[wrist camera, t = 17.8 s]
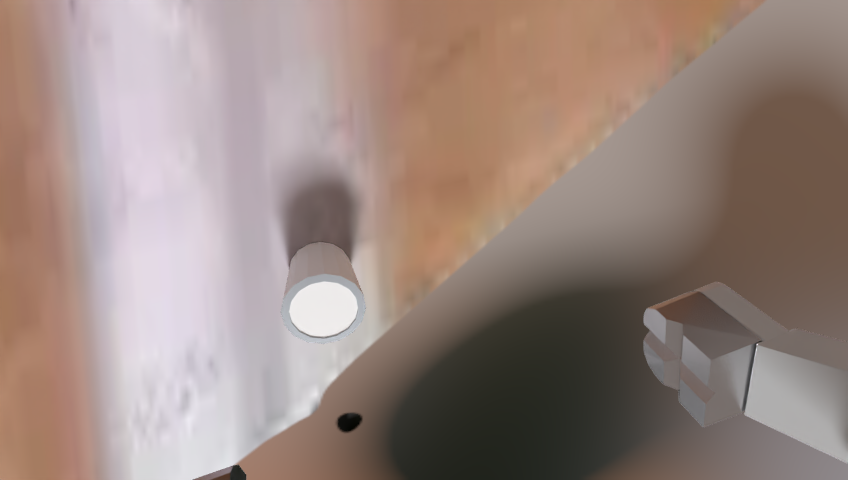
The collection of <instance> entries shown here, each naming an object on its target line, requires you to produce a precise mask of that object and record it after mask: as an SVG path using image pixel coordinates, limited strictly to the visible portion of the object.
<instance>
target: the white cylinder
mask: <svg viewBox="0 0 848 480" xmlns="http://www.w3.org/2000/svg"><path fill="white" fill-rule="evenodd" d="M365 309H366V306H365V301H364V296H363V293H362V290H361V288H360V285H359V283H358V280H357V278H356V275H355V273H354V270H353V268H352V265H351V263H350V260H349V258H348V256H347V255H346V254H345V252H344V251H343V250H342V249H341V248H339V247H337V246H335V245H334V244H331V243H325V242H317V243H312V244H308V245H306V246H304V247H303V248H301V249H299V250H298V251H297V252H296V254H295V255H294V256H293V258H292V259H291V263H290V268H289V273H288V278H287V283H286V288H285V293H284V298H283V303H282V308H281V315H282V318H283V322H284V325H285V326H286V327H287V329H288V330H289V331H290V332H291V333H292V334H293V335H294V336H295V337H298V338H300V339H302V340H304V341H306V342H310V343H321V344H325V343H330V342H334V341H339V340H341V339H343V338H344V337H346V336H348V335H349V334H351V333H353V332H354V330H355V329H356V328H357V327H358V326H359V324H360V323H361V322H362V320H363V316H364V313H365Z"/></svg>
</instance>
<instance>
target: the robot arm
mask: <svg viewBox="0 0 848 480" xmlns="http://www.w3.org/2000/svg"><path fill="white" fill-rule="evenodd" d="M644 324H645V325H646V326H647V327H648V328H649V329H650V331H649V332H648V334H647V336H646V337H645V339H644V354H645V356H646V359H647V362H648V364H649V366H650V368H651V369H652V371H653V373H654V374H655V375H656V377H657V378H658V379H659V380H660V381H661V382H662V383H663V384H664V385H666V386H669V387H672V388H674V389H677V390H678V391H679V392H678V393H679V402H680V403H681V404H682V405H683V406H684V407H685V408H686V409H687V410H688V412H689V413H690V414H691V415H692V416H693V417H694V418H695V419H696V420H697V421H698V422H699V423H700V424H701V426H702V427H703V428H704V427H707V426H710V425H712V424H715V423H718V422H720V421H723V420H725V419H728V418H731V417H733V416H736V415H739V414H741V413H744V412H745V415H746V416H748V417H750V418H752V419H754V420H756V421H758V422H761V423H763V424H765V425H767V426H769V427H771V428H773V429H775V430H777V431H780V432H782V433H784V434H786V435H788V436H790V437H792V438H794V439H796V440H799V441H801V442H803V443H805V444H807V445H809V446H811V447H813V448H816V449H818V450H820V451H822V452H824V453H826V454H828V455H830V456H833V457H834V458H837V459H839V460H841V461H843V462H845V463H847V464H848V342H847V341H843V340H839V339H835V338H831V337H827V336H824V335H819V334H816V333H812V332H808V331H804V330H801V329H797V328H796V329H793V330H790V331H788V330H787V329H785V328H784V327H783V326H782V325H780V324H779V323H777V322H776V321H775V320H773V319H772V318H770V317H769V316H768V315H766V314H765V313H763V312H762V311H761V310H759V309H758V308H756V307H755V306H754V305H752V304H751V303H749V302H748V301H747V300H746V299H744V298H743V297H741V296H740V295H738V294H737V293H736V292H734V291H733V290H732V289H730V288H729V287H728V286H726V285H724V284H723V283H719V282H714V283H712V284H709V285H706V286H704V287H701V288H699V289H696V290H693V291H692V292H687V293H685V294H682V295H680V296H677V297H674V298H672V299H669V300H667V301H664V302H662V303H659V304H657V305H654V306H652V307H649V308H647V309H646V311H645V313H644ZM193 480H246V474H245V473H244V471H243V470H242V469H241V467H240V466H239V465H233V466H230V467H228V468H225V469H222V470H219V471H216V472H213V473H210V474H208V475H205V476H202V477H199V478H196V479H193Z"/></svg>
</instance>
